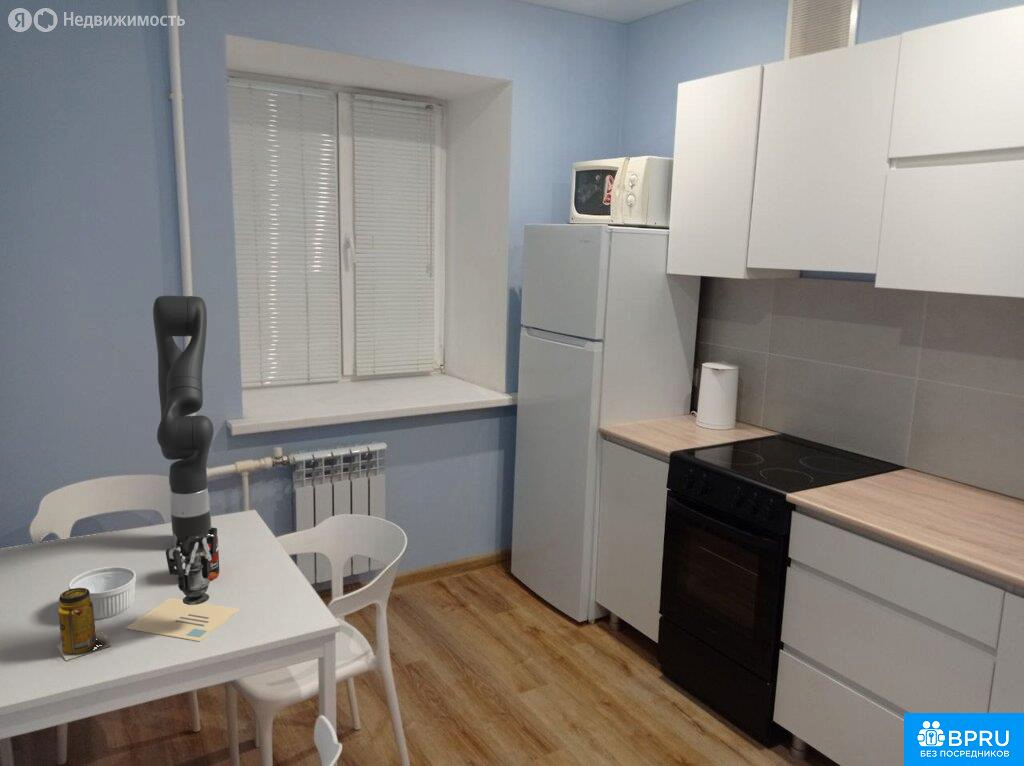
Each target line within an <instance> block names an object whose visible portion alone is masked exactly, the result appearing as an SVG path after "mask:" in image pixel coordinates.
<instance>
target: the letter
mask: <svg viewBox="0 0 1024 766" xmlns="http://www.w3.org/2000/svg"><path fill="white" fill-rule="evenodd" d="M182 600H183V599H178V598H174V597H173V598H172V597H169V598H168V599H167V600H165V601H163V602H162V603H160V604H159V605H157V606H156V607H155V608H152V610H150V611H148V613H146V614H144V615H143V616H141V617H140V618H138V619H136V620H135V621H134V622H132V623H131V624H129V625H128V626H126V627H125V629H126V630H130V631H131V630H132V631H137V632H142V633H143V632H144V633H148V634H154V635H159V636H160V635H161V636H165V637H172V638H177V639H183V640H187V641H194V642H201V641H203V640H204V639H205V638H206V637H207V636H208V635H210V634H211V633H212V632H214V631H215V630H216V629H218V628H219V627H220V626H222V624H223V623H225V622H227V620H229V619H231V617H232V616H234V615H235V614H236V613H237V612H239V611H240V609H239V608H234V607H228V606H222V605H215V604H210V603H205V602H204V603H201V604H197V605H186V604H184V603H183V601H182ZM180 601H181V602H180ZM233 614H234V615H233Z"/></svg>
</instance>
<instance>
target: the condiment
mask: <svg viewBox="0 0 1024 766" xmlns="http://www.w3.org/2000/svg"><path fill="white" fill-rule="evenodd" d="M90 599H91V598H90V592H89V590H88V589H86V588H73V589H70V590H69V589H67V590H65V591H63V592H62V593H61V594H59V598H58V600H59V608H58V619H59V630H60V641H61V643H60V644H57V645H56V647H57V649H58V650H59V652H60V654H61V655H62V657H63V659H64V660H65V661H69V660H71V659H75V658H76V659H77V658H78V657H81V656H84V655H88V654H90V653H93V652H96V651H99V650H102V649H104V648H107V647H110V646H113V644H112V643H111V642H110V640H109V639H108V638H107V635H105V633H104V632H103V631H100V632H99V631H98V632H96V625H95V623H96V622H95V619H94V611H93V603H92V601H91V600H90ZM96 639H97V640H96ZM96 645H98V646H99V645H102V646H99V647H97V646H96ZM94 647H97V649H95V650H93V649H94Z"/></svg>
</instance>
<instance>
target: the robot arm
mask: <svg viewBox="0 0 1024 766" xmlns="http://www.w3.org/2000/svg"><path fill="white" fill-rule="evenodd" d="M207 311H208V310H207V306H206V301H205V300H204V299H203V298H202V297H200V296H194V295H160V296H157V298H156V299H155V300H154V302H153V307H152V315H153V316H152V318H153V326H154V335H155V343H156V351H157V380H158V381H157V383H158V394H159V395H158V397H159V403H160V422H159V424H158V428H157V432H156V439H157V443H158V445H159V446H160V450H161V453H162V456H163V457H164V458H165V459H166V460H169V461H171V460H173V461H174V462H173V463H171V465H169V476H168V483H169V484H168V485H169V495H170V496H169V497H170V498H169V501H170V503H169V504H170V516H171V517H170V518H171V532H172V544H173V547H172V548H167V549H166V550H165V556H166V557H165V558H166V561H167V562H166V563H167V567H168V572H169V573H168V574H169V575H171V576H177V586H178V589H179V590H180V592H183V591H186V592H187V591H189V590H190V574H189V571H190V566H191V564H193V562H194V558H195V554H196V553H198V552H200V554H201V564H202V565H203V568H202V576H203V578H208V577H209V576H210V563H209V561H210V560H211V556H212V555H215V554H216V545H217V534H218V528H217V527H212V515H211V514H212V511H211V510H212V509H211V505H210V494H209V490H208V477H207V476H208V475H207V474H208V473H207V471H208V470H207V467H208V466H207V462H208V456H209V453H210V448H211V445H212V441H213V437H214V429H215V428H214V424H213V422H212V420H211V418H209V417H208V416H206V415H193V414H195V413H197V412H199V411H200V410H201V409H202V408H203V405H204V395H203V394H204V391H203V390H204V389H203V368H204V367H203V365H204V359H205V350H206V342H207V341H206V340H207V330H208V329H207V326H208V319H207V318H208V315H207V313H208V312H207ZM173 337H190V340H189V343H188V345H187V346H186V347H185V348H184V350H182V349H181V348H180V347H179V346H178V345H177V343H176V342H175V339H174V338H173ZM209 544H211V549H210V548H209ZM183 557H184V558H183ZM185 557H189V559H188V560H187V559H185ZM183 564H185V565H184V566H183Z"/></svg>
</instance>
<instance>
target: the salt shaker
mask: <svg viewBox="0 0 1024 766" xmlns="http://www.w3.org/2000/svg"><path fill="white" fill-rule="evenodd" d="M186 559H187V560H188V559H189V557H186ZM202 568H203V565H202V564H201V554H200V552H198V553H196V554H195V558H194V562H193V564H191V566H190V571H189V574H190V590H189V591H187V592H186V591H182V593H183V595H185V596H184V597H183V599H182V600H183V603H184V604H187V605H197V604H201V603H205V602H207V601H209V599H210V595H209V594H208V593H206V592H207V591H208V589H209V585H210V583H211V581H209V580H208V579H207V578H203V576H202Z"/></svg>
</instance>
